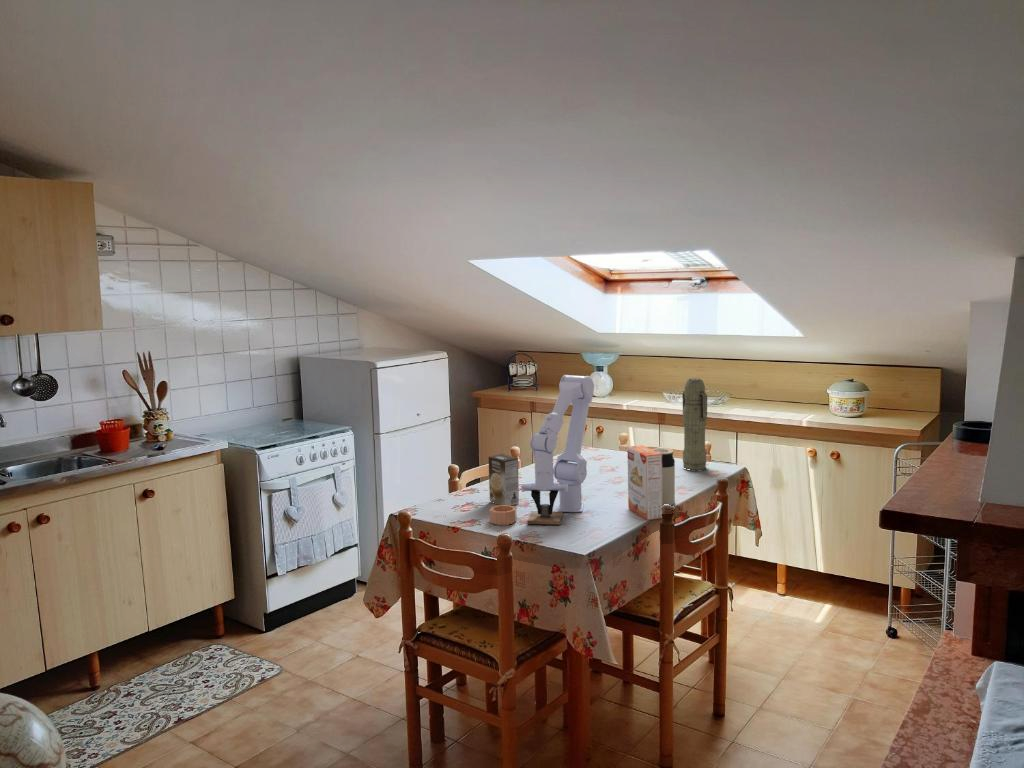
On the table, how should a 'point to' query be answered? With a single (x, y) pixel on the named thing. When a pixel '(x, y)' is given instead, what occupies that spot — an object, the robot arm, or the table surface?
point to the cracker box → (645, 482)
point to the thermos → (694, 424)
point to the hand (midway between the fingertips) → (545, 513)
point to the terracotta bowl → (503, 514)
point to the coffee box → (503, 479)
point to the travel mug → (667, 475)
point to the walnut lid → (545, 516)
